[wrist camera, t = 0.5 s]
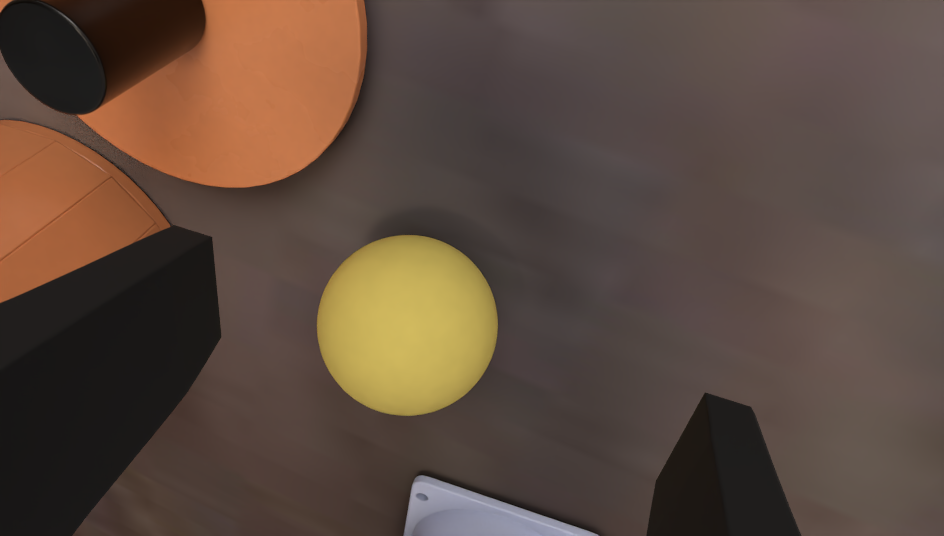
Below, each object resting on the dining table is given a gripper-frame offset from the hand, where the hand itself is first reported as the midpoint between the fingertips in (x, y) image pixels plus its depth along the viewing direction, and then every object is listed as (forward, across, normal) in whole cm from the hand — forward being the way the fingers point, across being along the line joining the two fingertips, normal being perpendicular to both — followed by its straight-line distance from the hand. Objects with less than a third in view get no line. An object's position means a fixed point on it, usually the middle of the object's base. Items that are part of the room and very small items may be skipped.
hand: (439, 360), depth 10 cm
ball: (+8, +2, +7) cm, 11 cm away
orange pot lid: (+10, +10, 0) cm, 14 cm away
